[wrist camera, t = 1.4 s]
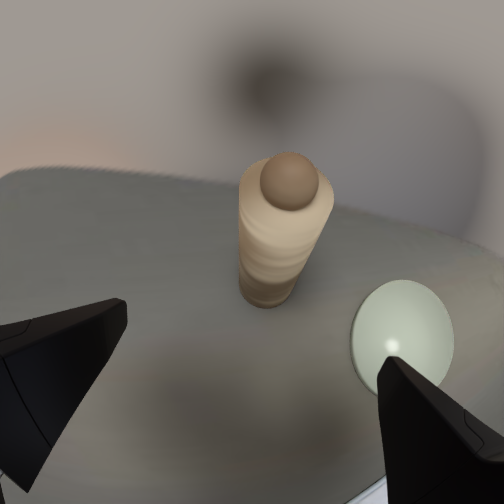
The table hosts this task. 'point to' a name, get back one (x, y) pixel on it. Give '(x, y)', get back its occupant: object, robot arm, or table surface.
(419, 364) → the disc
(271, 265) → the pepper mill
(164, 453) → the table surface
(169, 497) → the table surface
